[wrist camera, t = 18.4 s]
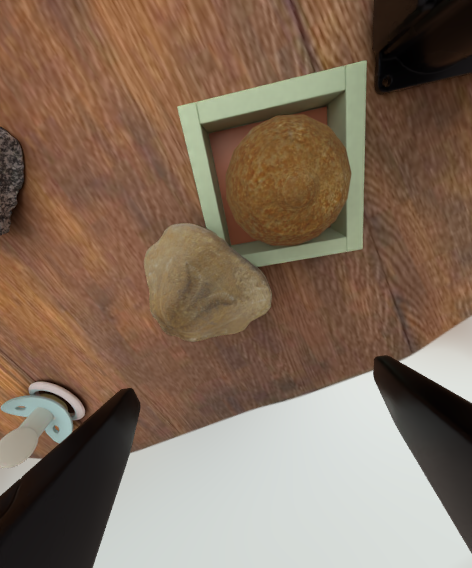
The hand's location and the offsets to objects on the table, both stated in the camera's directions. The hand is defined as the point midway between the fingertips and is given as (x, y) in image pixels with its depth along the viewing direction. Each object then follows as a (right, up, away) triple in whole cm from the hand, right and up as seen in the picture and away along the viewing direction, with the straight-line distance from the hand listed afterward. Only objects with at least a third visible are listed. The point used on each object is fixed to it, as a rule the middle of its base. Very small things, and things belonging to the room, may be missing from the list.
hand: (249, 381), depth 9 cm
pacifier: (-20, -9, +18) cm, 29 cm away
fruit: (+2, +10, +8) cm, 13 cm away
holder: (+2, +11, +8) cm, 14 cm away
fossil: (-2, 0, +6) cm, 7 cm away
